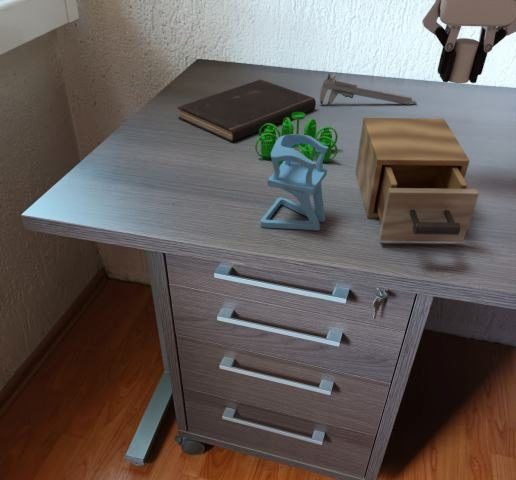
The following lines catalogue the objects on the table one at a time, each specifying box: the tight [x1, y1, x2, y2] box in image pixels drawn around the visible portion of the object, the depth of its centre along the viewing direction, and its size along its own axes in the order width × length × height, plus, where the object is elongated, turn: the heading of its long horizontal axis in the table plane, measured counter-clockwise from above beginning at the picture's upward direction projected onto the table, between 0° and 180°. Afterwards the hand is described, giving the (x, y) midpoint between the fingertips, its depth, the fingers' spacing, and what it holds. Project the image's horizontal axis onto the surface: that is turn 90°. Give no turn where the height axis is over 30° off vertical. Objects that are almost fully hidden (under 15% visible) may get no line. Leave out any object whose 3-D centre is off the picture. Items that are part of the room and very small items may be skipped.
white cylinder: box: [448, 37, 479, 84], centre depth 74 cm, size 3×3×5 cm
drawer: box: [375, 165, 480, 243], centre depth 72 cm, size 18×11×7 cm, turn 179°
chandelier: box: [254, 112, 338, 167], centre depth 91 cm, size 15×15×7 cm
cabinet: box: [355, 117, 471, 219], centre depth 80 cm, size 15×13×9 cm
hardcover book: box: [177, 79, 317, 143], centre depth 105 cm, size 16×23×2 cm
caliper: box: [319, 72, 418, 107], centre depth 108 cm, size 20×1×6 cm, turn 93°
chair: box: [260, 133, 328, 231], centre depth 73 cm, size 8×8×12 cm
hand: (457, 78), depth 76 cm, fingers closed on white cylinder, 3 cm apart
